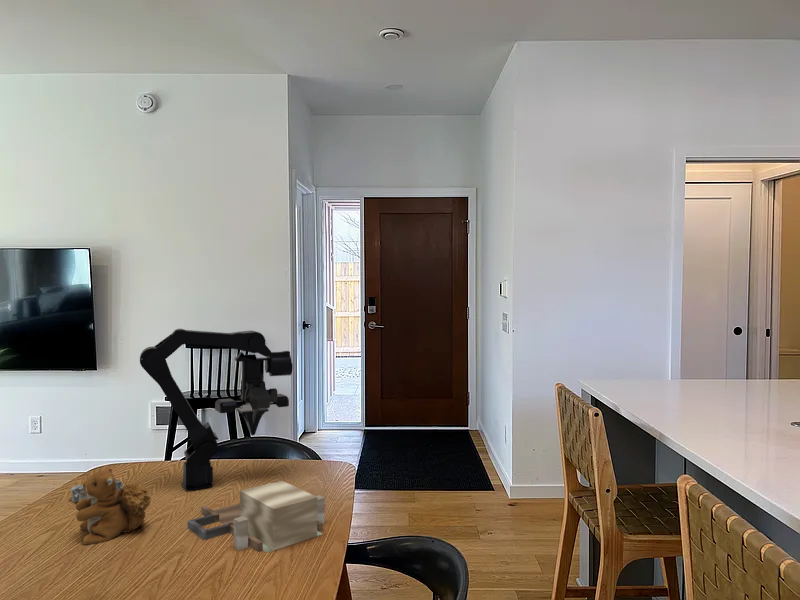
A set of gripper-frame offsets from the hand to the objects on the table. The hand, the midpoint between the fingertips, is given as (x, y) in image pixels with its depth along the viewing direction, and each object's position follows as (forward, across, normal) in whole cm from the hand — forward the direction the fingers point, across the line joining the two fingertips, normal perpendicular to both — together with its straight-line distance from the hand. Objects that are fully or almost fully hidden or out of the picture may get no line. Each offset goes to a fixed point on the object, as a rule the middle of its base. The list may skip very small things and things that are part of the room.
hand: (252, 434), depth 153 cm
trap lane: (+12, -8, -30) cm, 34 cm away
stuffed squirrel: (+12, -36, -19) cm, 42 cm away
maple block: (+12, -7, -38) cm, 40 cm away
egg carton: (+12, -37, +7) cm, 39 cm away
